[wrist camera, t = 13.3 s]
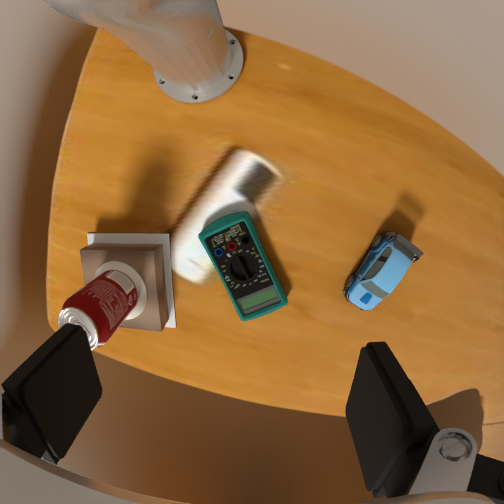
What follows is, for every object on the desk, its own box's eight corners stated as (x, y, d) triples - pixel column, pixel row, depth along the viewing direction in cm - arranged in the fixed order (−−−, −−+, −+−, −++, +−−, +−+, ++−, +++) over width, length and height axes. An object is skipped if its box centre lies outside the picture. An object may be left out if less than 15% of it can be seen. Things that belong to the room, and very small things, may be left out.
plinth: (93, 243, 43) (79, 250, 39) (162, 244, 42) (152, 251, 38) (103, 312, 46) (91, 324, 42) (169, 319, 45) (161, 332, 41)
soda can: (117, 258, 39) (71, 290, 27) (149, 295, 40) (113, 339, 28) (91, 285, 40) (45, 321, 28) (120, 319, 41) (83, 364, 30)
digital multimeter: (246, 206, 41) (244, 208, 38) (288, 298, 45) (289, 306, 42) (198, 228, 42) (194, 232, 39) (243, 316, 46) (242, 325, 43)
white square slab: (87, 233, 42) (87, 233, 42) (169, 233, 42) (168, 233, 42) (100, 319, 46) (100, 320, 46) (176, 327, 46) (175, 327, 46)
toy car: (336, 290, 44) (345, 306, 38) (382, 224, 41) (398, 231, 35) (364, 308, 44) (376, 325, 39) (409, 245, 42) (426, 255, 36)
